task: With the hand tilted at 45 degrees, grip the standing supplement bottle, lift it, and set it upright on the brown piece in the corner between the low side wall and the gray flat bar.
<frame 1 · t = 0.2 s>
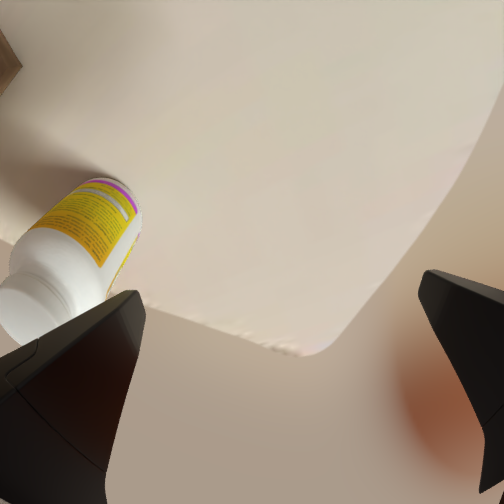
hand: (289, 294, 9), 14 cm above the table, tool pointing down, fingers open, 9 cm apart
supplement bottle: (107, 213, 23), on the table
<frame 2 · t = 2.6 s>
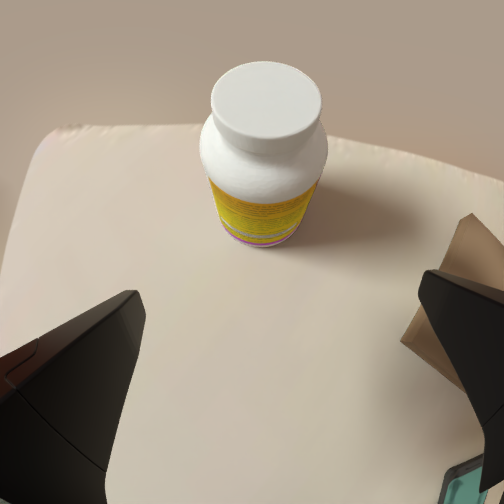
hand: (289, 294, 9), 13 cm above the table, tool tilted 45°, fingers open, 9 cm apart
supplement bottle: (260, 208, 24), on the table
brown piece: (482, 299, 22), on the table
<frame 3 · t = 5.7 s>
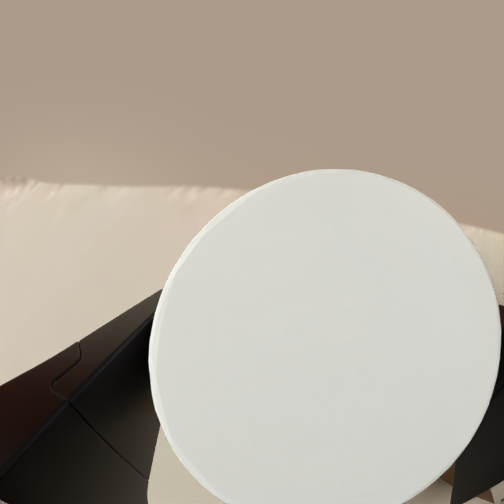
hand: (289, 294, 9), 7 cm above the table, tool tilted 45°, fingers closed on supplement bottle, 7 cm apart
supplement bottle: (275, 335, 16), on the table, touching gripper
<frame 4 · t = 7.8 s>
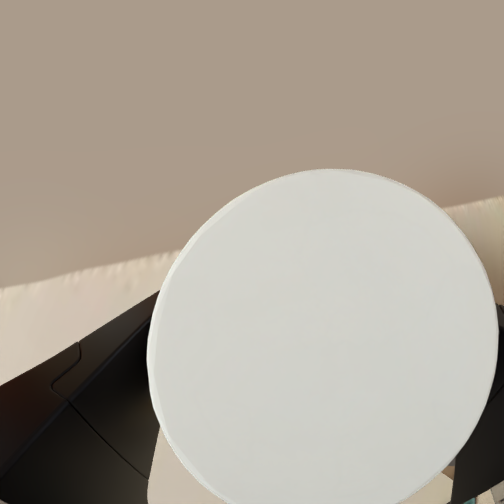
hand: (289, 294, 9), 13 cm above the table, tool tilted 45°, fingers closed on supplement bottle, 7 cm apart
supplement bottle: (275, 334, 16), point 6 cm above the table, touching gripper
when the fingers open (10 cm above the table, at t = 10.3 s): supplement bottle drops 1 cm, resting on brown piece.
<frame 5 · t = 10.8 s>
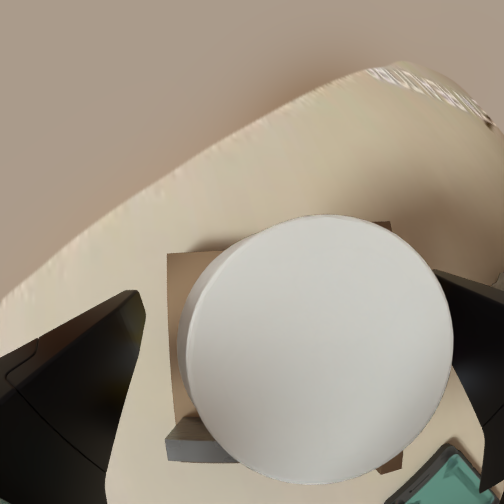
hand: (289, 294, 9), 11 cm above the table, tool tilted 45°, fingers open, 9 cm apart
gray flat bar: (271, 435, 14), point 4 cm above the table
supplement bottle: (274, 336, 17), point 2 cm above the table, touching brown piece
brown piece: (271, 333, 19), on the table
smartphone: (448, 502, 15), on the table
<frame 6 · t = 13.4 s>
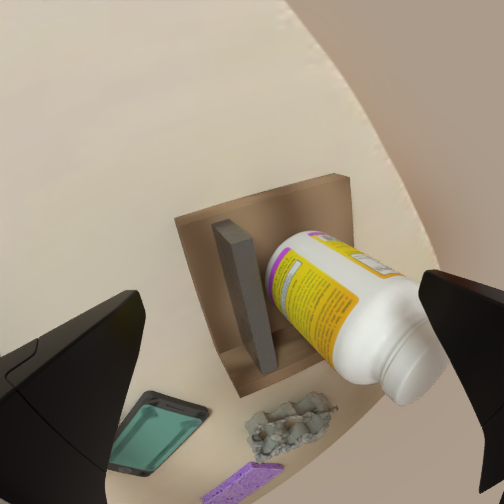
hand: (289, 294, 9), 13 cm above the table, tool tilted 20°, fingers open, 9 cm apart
egg carton: (283, 416, 34), on the table
gray flat bar: (246, 301, 20), point 4 cm above the table
supplement bottle: (300, 268, 23), point 2 cm above the table, touching brown piece
brown piece: (290, 258, 25), on the table
smartphone: (145, 436, 27), on the table
sponges: (238, 479, 37), on the table
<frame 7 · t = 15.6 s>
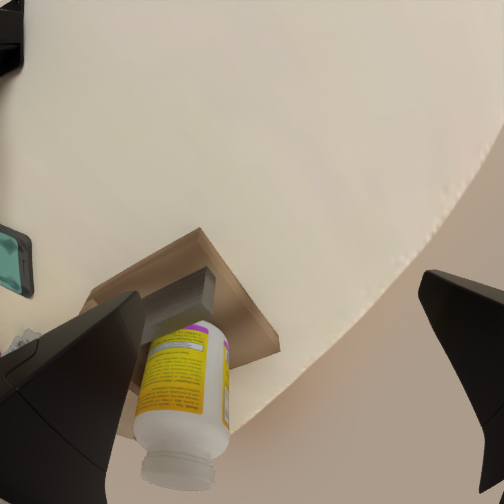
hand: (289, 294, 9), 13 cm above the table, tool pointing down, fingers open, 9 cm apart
egg carton: (50, 357, 31), on the table
gray flat bar: (152, 315, 21), point 4 cm above the table
supplement bottle: (191, 339, 26), point 2 cm above the table, touching brown piece
brown piece: (194, 325, 27), on the table
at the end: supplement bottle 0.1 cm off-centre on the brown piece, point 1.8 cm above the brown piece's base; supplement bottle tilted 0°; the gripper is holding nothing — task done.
